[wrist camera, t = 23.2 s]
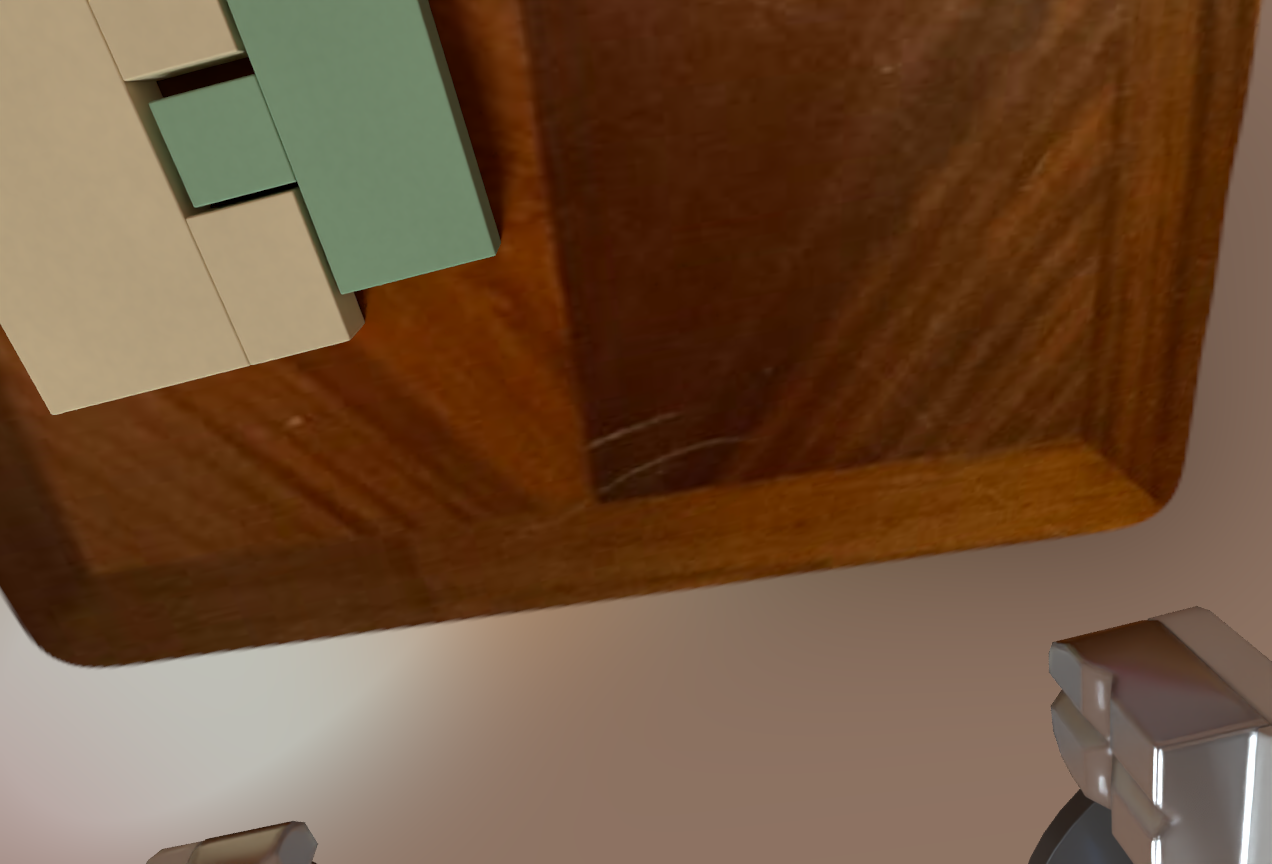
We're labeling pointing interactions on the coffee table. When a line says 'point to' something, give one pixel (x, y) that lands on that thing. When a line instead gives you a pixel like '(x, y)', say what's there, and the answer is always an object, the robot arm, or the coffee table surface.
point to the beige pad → (137, 214)
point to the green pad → (342, 135)
